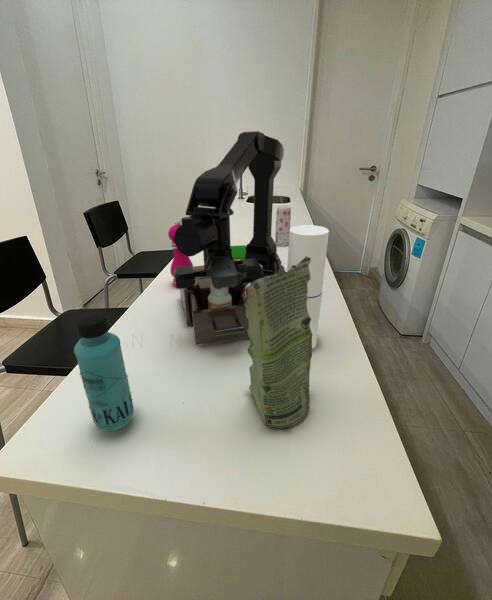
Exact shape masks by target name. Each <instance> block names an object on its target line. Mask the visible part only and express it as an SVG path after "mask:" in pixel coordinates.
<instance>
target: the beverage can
mask: <svg viewBox="0 0 492 600" xmlns="http://www.w3.org/2000/svg"><path fill="white" fill-rule="evenodd" d="M275 211H276V216H275V218H276V220H275V236H274V237H275V239H274V242H275V244H276V246H278V247H279V246H280V247H285V246H289V230H290V228H291V218H292V217H291V216H292V207H291V205H277V207H276V210H275Z"/></svg>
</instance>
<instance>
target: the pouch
mask: <svg viewBox="0 0 492 600" xmlns="http://www.w3.org/2000/svg"><path fill="white" fill-rule="evenodd" d="M310 261H311V258H310V257H309V258H308V257H307V256H306V257H305V258H304V259H302V260H301V261H300V262H299V263H298V264H297V265H293V266H291V268H290V269H289V271H288V272H287V270H286V269H285V266H284V265H283V264H281V268H280V269H279V271H278V272H277V273H276V274H275V275H274V276H264V277H263V278H260V279H257V280H255V282H253V284H251V285H250V284H249V285H248V286H246V287H245V297H246V298H245V301H244V305H245V307H246V313H245V315H246V317H247V318H248V320H249V327H248V329H247V334H248V336H249V337H248V338H249V340H250V344H249V346H248V348H247V353H248V355H249V357H250V358H251V360H252V364H251V365H250V366H249V375H250V378H249V379H250V385H249V387H248V389H249V391H250V393H251V395H252V397H253V400H254V402H255V404H256V408H257V409H258V411H259V412H260V416H261V418H262V421H263V423H264V424H265V426H266V427H267V428H277V429H283V428H287V427H291V426H295V425H296V424H298V423H300V422H301V421H302V420H304V417H306V416H307V414H308V412H309V410H310V401H311V399H310V374H311V373H310V372H311V362H312V361H311V360H312V357H313V349H312V332H311V329H310V321H311V318H310V316H309V314H308V311H307V294H308V292H307V291H308V287H307V284H308V281H309V280H310V271H309V267H308V266H309V264H310Z"/></svg>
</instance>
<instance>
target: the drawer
mask: <svg viewBox="0 0 492 600" xmlns="http://www.w3.org/2000/svg"><path fill="white" fill-rule="evenodd" d="M228 290H229V291H228V293H229V294H230V295H231V298H232V306H228V307H221V308H214V309H208V296H209V295H210V294H211V292H210V290H208V291H201V296H202V301H203V305H204V310H201V307H200V305H199V303H198V301H197V298H196V297H195V295H194V293H193V292H192V293H189V303H190V314H191V318H192V321H193V325H192V326H193V335H194V337H193V338H194V344H195V346H201V345H207V344H213V343H219V342H226V341H231V340H232V341H233V340H238V339H245V338H250V337H249V336H248V334H247V329H248V327H249V320H248V318H247V317H246V315H245V313H246V307H245V305H244V301H245V298H246V294H245V295H244V294H242V296H241V299H240V302H239V304H238V305H235V298H234V294H235V287H232V288H228Z"/></svg>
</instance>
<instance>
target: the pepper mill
mask: <svg viewBox="0 0 492 600" xmlns="http://www.w3.org/2000/svg"><path fill="white" fill-rule="evenodd" d="M181 225H182V221H181V220H180V219H175V220H174V225H172V226H171V227H170V228H169V229H168V233H167V234H168V239H169V240H170V241H171V242H170V244H171V245H170V247H171V248H172V250H173V257H172V262H171V265H170V275H171V276H172V280H173V281H172V282H173V286H174V287H176V284H175V280H174V273H173V270H174V269H175V267H182V266H191V267H194V264H193V262H192V260H191V258H190V256H186V255H184V254H182V253H181V252H180V251H179V250H178V249H177V247H176V245H175V242H174V236H175V232H176V230H177V228H178V227H180V226H181Z"/></svg>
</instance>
